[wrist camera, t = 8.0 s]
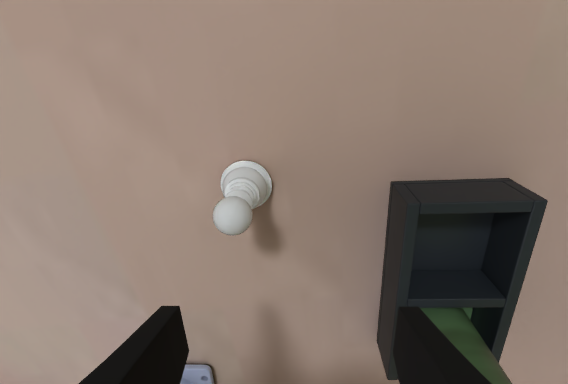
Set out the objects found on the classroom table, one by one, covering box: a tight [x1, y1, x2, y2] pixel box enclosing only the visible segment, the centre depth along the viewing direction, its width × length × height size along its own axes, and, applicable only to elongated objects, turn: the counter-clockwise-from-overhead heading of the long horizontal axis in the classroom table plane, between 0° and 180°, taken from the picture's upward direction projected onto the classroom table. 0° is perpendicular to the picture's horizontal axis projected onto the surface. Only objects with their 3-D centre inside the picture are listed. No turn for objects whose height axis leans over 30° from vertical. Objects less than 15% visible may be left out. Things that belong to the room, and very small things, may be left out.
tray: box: [377, 178, 548, 380], centre depth 18 cm, size 6×12×3 cm, turn 3°
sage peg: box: [420, 308, 512, 384], centre depth 17 cm, size 4×4×6 cm
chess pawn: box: [213, 160, 272, 236], centre depth 15 cm, size 3×3×5 cm
